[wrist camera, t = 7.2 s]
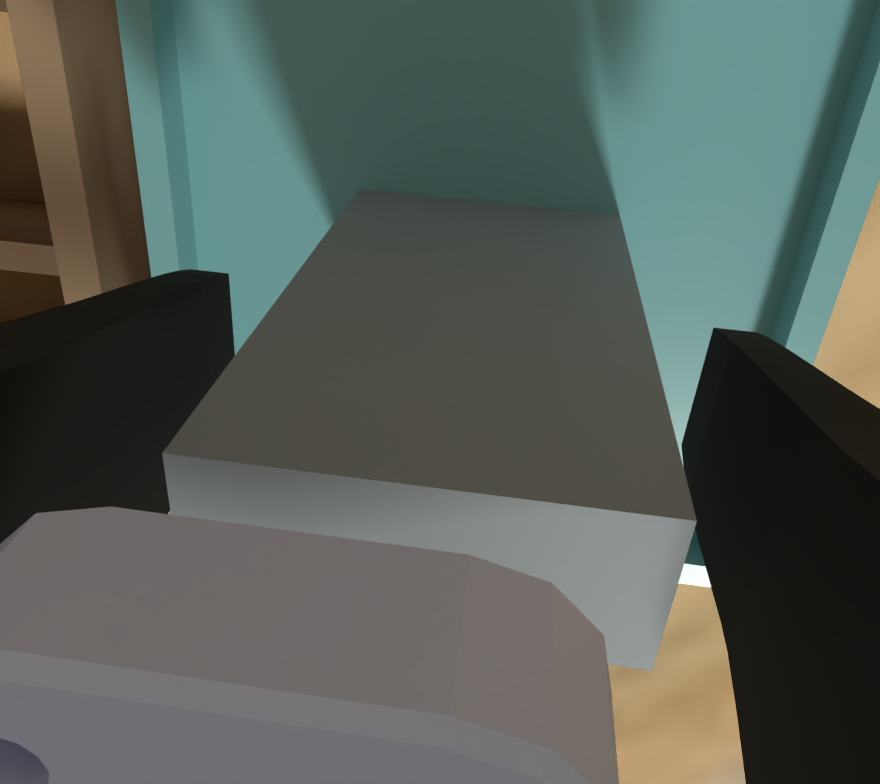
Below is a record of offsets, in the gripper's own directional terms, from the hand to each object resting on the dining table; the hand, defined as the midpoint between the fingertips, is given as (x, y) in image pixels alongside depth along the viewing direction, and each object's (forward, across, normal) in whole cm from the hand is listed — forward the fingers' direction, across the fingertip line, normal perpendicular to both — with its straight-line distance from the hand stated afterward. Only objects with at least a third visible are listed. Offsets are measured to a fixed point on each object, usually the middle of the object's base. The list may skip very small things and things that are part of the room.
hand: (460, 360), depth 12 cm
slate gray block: (+4, 0, 0) cm, 4 cm away
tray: (+5, 0, 0) cm, 5 cm away
